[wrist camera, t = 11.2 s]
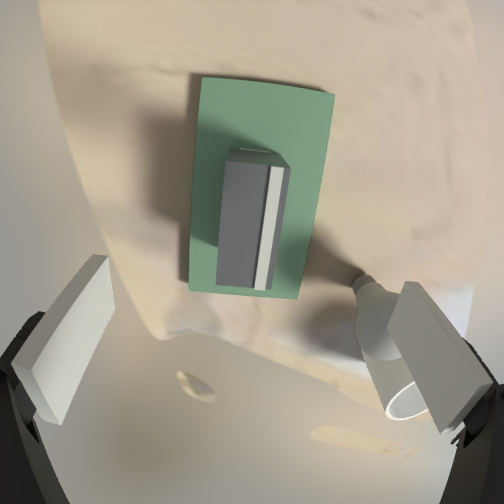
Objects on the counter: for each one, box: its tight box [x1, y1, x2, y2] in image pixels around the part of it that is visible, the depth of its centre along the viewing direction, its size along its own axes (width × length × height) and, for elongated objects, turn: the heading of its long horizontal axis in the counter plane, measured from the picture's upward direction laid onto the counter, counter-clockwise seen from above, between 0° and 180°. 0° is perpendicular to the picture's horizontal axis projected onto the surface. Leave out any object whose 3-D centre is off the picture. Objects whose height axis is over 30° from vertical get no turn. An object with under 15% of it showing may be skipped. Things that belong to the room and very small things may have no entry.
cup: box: [361, 348, 428, 420], centre depth 32 cm, size 8×12×10 cm
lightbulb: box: [352, 275, 402, 361], centre depth 27 cm, size 6×6×11 cm
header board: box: [189, 77, 335, 299], centre depth 26 cm, size 20×11×5 cm, turn 173°
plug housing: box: [215, 148, 291, 291], centre depth 24 cm, size 9×4×6 cm, turn 173°
